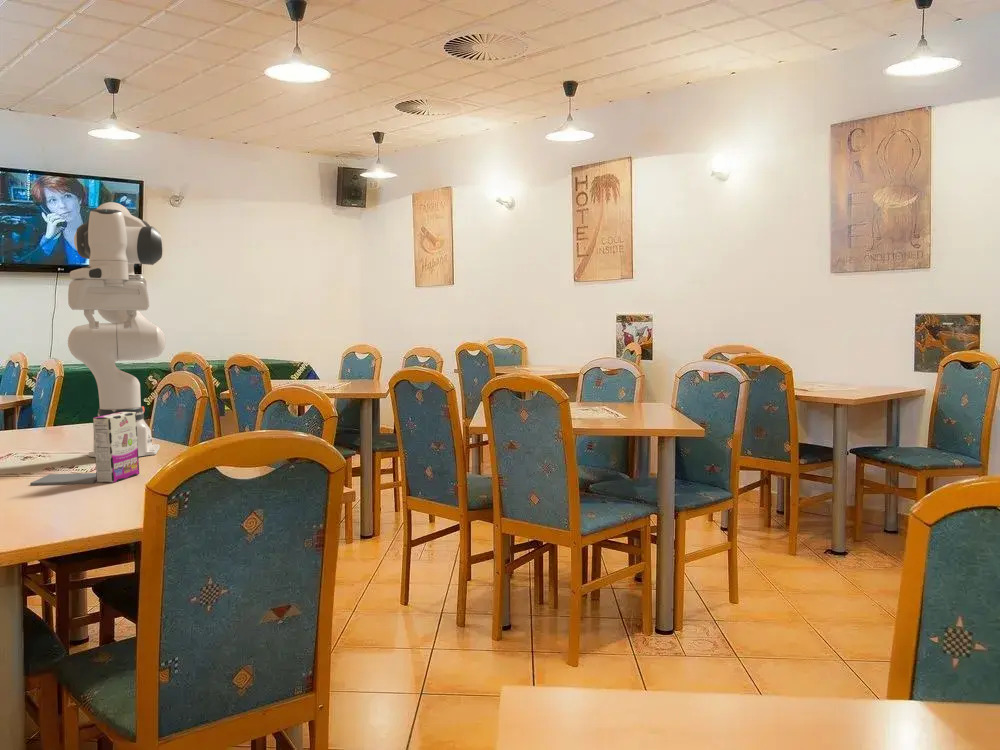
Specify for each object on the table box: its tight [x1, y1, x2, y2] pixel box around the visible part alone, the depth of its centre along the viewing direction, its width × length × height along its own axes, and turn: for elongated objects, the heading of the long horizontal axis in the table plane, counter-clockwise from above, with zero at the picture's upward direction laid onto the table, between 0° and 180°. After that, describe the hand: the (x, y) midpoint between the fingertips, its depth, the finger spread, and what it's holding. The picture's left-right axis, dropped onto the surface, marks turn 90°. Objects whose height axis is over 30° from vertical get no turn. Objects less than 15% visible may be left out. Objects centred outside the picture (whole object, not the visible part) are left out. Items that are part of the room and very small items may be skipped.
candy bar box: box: [92, 412, 140, 484], centre depth 207 cm, size 11×5×16 cm, turn 171°
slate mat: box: [30, 472, 98, 486], centre depth 207 cm, size 11×14×1 cm
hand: (111, 328), depth 207 cm, fingers open, 8 cm apart
